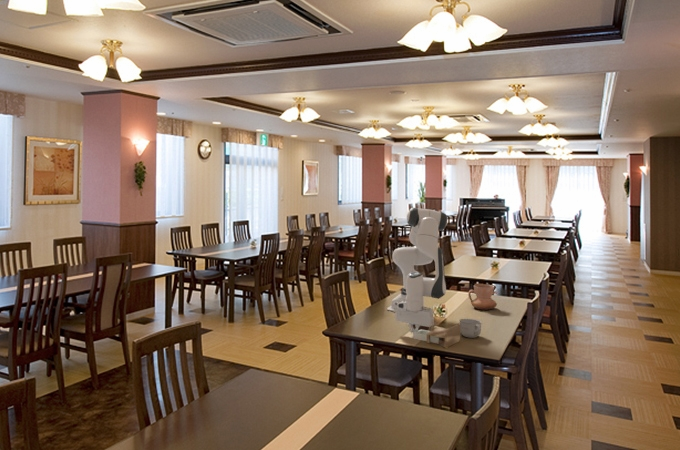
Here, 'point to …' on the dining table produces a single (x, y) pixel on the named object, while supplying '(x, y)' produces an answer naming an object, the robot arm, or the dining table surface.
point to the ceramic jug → (483, 297)
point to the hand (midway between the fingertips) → (414, 332)
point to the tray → (423, 336)
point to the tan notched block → (446, 335)
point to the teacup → (470, 327)
